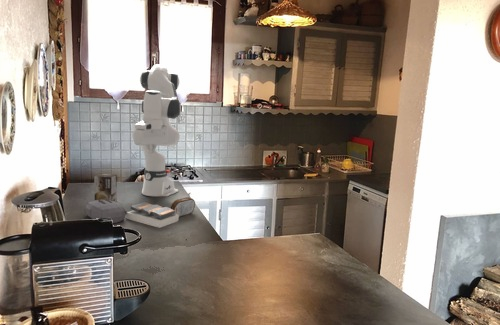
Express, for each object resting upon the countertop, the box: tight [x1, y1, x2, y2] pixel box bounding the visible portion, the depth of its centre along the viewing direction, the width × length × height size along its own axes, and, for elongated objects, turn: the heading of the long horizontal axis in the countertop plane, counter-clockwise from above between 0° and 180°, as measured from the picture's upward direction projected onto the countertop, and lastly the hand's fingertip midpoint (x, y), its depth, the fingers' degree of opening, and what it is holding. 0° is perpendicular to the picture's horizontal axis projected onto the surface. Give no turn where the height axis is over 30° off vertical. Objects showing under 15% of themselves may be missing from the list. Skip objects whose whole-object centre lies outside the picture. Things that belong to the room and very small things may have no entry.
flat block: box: [152, 206, 175, 218], centre depth 186 cm, size 10×5×2 cm, turn 151°
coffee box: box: [93, 173, 118, 202], centre depth 205 cm, size 9×6×16 cm
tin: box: [170, 196, 196, 218], centre depth 200 cm, size 15×3×8 cm, turn 145°
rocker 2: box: [141, 203, 164, 215], centre depth 189 cm, size 10×5×2 cm, turn 151°
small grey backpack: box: [85, 199, 126, 224], centre depth 187 cm, size 15×8×20 cm
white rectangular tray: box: [124, 209, 180, 229], centre depth 192 cm, size 13×28×3 cm, turn 61°
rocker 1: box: [130, 201, 153, 213], centre depth 192 cm, size 10×5×2 cm, turn 151°
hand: (151, 153), depth 198 cm, fingers closed
